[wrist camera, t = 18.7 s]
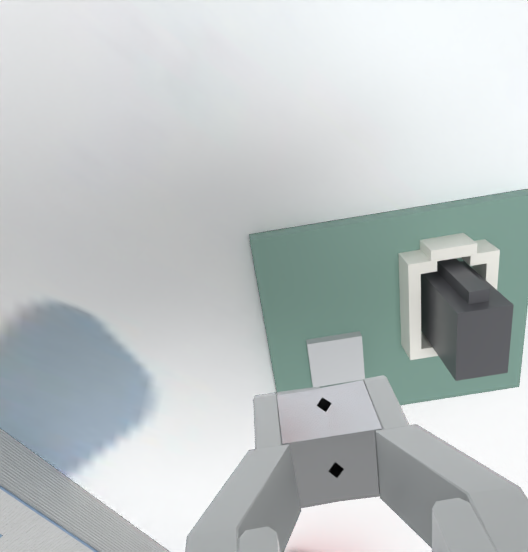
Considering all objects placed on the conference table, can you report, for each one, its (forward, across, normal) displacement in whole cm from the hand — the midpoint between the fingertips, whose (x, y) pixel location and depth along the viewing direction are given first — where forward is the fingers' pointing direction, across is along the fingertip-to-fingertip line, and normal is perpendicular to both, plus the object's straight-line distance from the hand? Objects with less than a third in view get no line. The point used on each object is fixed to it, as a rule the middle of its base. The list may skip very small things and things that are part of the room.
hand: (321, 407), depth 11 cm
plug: (+28, -14, +14) cm, 34 cm away
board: (+29, -10, +16) cm, 35 cm away
